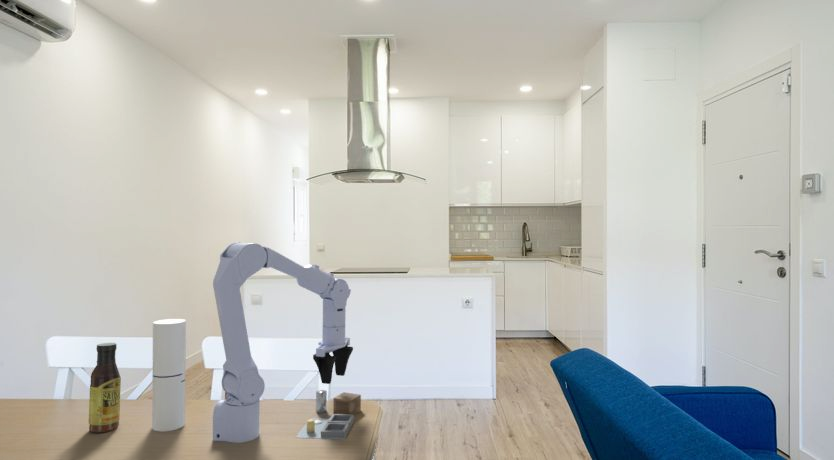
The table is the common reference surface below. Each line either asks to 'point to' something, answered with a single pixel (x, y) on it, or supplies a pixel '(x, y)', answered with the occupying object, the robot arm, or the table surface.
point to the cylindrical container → (168, 374)
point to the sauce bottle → (105, 391)
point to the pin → (321, 401)
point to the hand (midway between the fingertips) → (333, 379)
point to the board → (327, 427)
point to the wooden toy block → (347, 403)
